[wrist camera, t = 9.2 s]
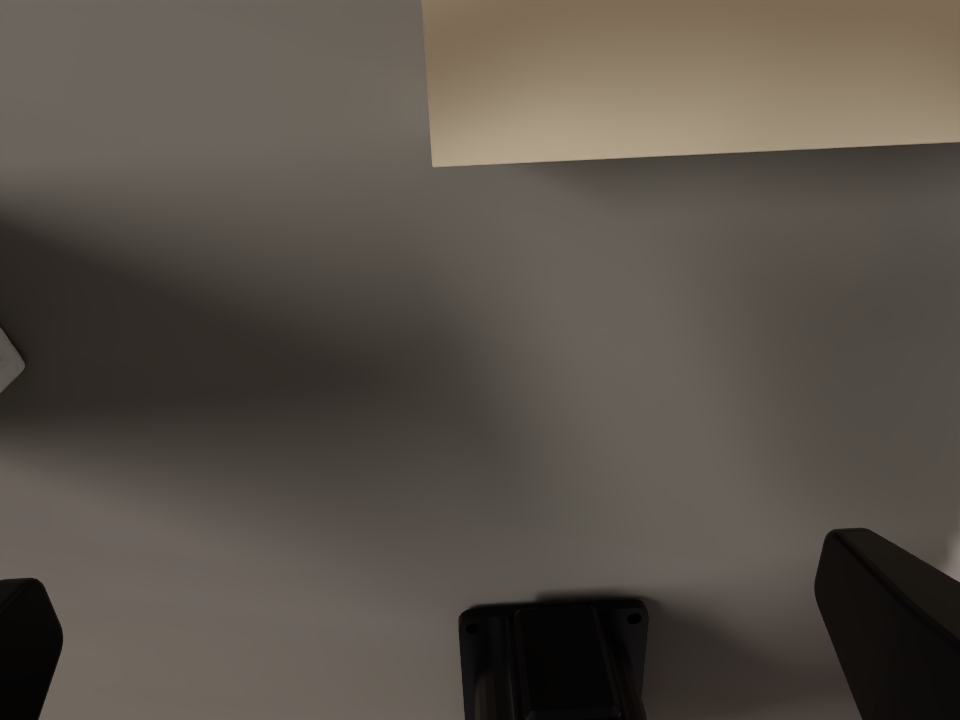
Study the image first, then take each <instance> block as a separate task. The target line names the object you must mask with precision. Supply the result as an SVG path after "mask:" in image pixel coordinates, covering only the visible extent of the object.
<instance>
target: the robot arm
mask: <svg viewBox="0 0 960 720" xmlns="http://www.w3.org/2000/svg"><path fill="white" fill-rule="evenodd" d="M814 590H815V597H816V601H817V604H818V607H819V609H820V612H821V615H822V617H823V620H824V622H825V625H826V628H827V630H828V633H829V635H830V638H831V640H832V643H833V646H834V648H835V651H836V653H837V656H838V659H839V661H840V664H841V666H842V669H843V671H844V674H845V677H846V679H847V682H848V684H849V687H850V690H851V692H852V695H853V697H854V700H855V702H856V705H857V708H858V710H859V712H860V715H861V717H862V720H960V582H958V581H956V580H955V579H953V578H951V577H950V576H948V575H946V574H944V573H943V572H941V571H939V570H938V569H936V568H934V567H933V566H931V565H929V564H927V563H926V562H924V561H922V560H921V559H919V558H917V557H916V556H914V555H912V554H910V553H909V552H907V551H905V550H904V549H902V548H900V547H899V546H897V545H895V544H893V543H892V542H890V541H888V540H887V539H885V538H883V537H882V536H880V535H878V534H876V533H875V532H873V531H871V530H869V529H866V528H846V529H834V530H832V531H830V532H829V533H828V534H827V535H826V537H825V540H824V543H823V548H822V552H821V556H820V561H819V565H818V569H817V573H816V578H815V586H814ZM634 613H636V614H634ZM630 614H634V615H630ZM648 620H649V617H648V612H647V609H646V606H645V604H644V603H643V602H642V601H640V600H636V599H627V600H611V601H595V602H579V603H562V604H546V605H530V606H514V607H498V608H481V609H470V610H466V611H465V612H463V613H462V614H461V615H460V616H459V620H458V622H459V641H460V655H461V669H462V684H463V698H464V712H465V720H647V717H646V713H645V709H644V706H643V702H642V699H641V693H642V683H643V672H644V662H645V652H646V641H647V631H648ZM472 623H475V624H476V625H469V624H472ZM62 645H63V632H62V628H61V625H60V622H59V620H58V618H57V615H56V613H55V611H54V608H53V606H52V603H51V601H50V599H49V596H48V594H47V592H46V589H45V587H44V585H43V584H42V583H41V582H40V581H39V580H38V579H34V578H19V579H4V580H0V720H38V719H39V716H40V713H41V710H42V707H43V705H44V702H45V699H46V696H47V693H48V690H49V687H50V684H51V681H52V678H53V675H54V672H55V669H56V666H57V663H58V660H59V657H60V654H61V650H62Z"/></svg>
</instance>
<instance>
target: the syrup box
mask: <svg viewBox="0 0 960 720" xmlns="http://www.w3.org/2000/svg"><path fill="white" fill-rule="evenodd" d="M24 368H25V363H24V361H23V360H22V358H21V356H20V355H19V353H18V352H17V350H16V349H15V347H14V346H13V345H12V343H11V342H10V341H9V339H8V337H7V336H6V334H5V333H4V332H3V330H2V329H1V328H0V393H1V392H2V391H3V390H4V389H5V388H7V387H8V386H9V385H10V384H11V383H12V382H13V381H14V380H15V379H16V378H17V377H18V376H19V375H20V374H21V373H22V372H23V370H24Z"/></svg>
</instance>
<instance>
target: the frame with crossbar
mask: <svg viewBox="0 0 960 720" xmlns="http://www.w3.org/2000/svg"><path fill="white" fill-rule="evenodd" d="M421 2H422V17H423V32H424V47H425V62H426V77H427V92H428V107H429V122H430V137H431V152H432V167H445V166H466V165H487V164H508V163H529V162H550V161H571V160H592V159H613V158H634V157H655V156H676V155H697V154H718V153H739V152H760V151H781V150H802V149H823V148H844V147H865V146H886V145H907V144H928V143H949V142H960V0H421Z"/></svg>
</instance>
